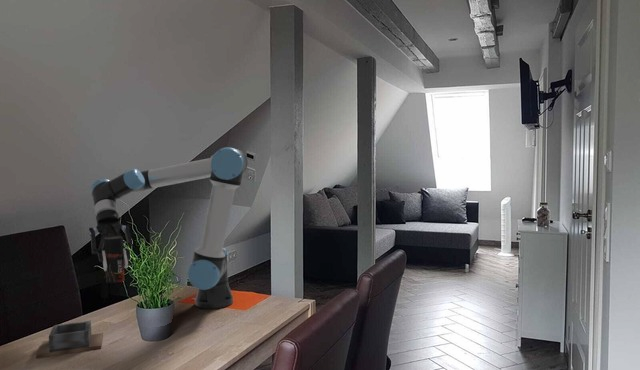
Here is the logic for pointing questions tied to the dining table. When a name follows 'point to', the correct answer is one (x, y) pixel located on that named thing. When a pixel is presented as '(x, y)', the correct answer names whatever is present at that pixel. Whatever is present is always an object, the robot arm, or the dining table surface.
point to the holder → (70, 339)
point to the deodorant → (114, 259)
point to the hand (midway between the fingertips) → (116, 267)
